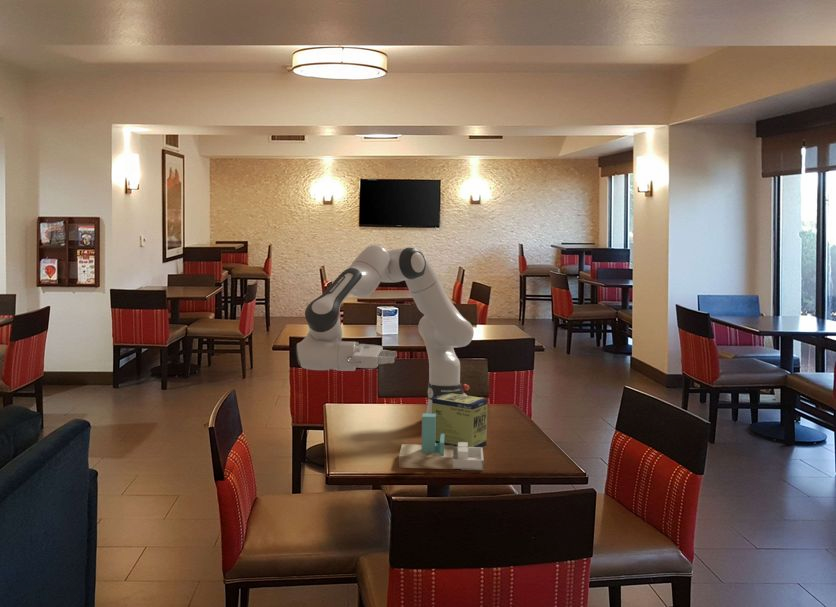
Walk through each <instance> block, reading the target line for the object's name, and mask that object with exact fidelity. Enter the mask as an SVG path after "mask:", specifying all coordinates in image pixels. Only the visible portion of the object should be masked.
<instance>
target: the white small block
mask: <svg viewBox="0 0 836 607" xmlns="http://www.w3.org/2000/svg"><path fill="white" fill-rule="evenodd" d="M458 459H468V448H467V447H458Z"/></svg>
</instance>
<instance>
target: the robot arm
mask: <svg viewBox="0 0 836 607" xmlns="http://www.w3.org/2000/svg"><path fill="white" fill-rule="evenodd" d="M403 281H405V284H406V286H407V288H408V291H409V293H410V295H411V297H412V300H413V302H414V303H415V305H416V307H417V310H419V312H421V313H422V314H423V316H422V317H421V318H420V320H419V322H418V326H417V327H418V329H417V330H418V333H419V334H420V336H421V338H422V339H423V342H424V345H425V349H426V352H427V357H428V365H429V366H428V367H429V369H428V371H429V372H428V375H429V376H428V378H429V379H428V381H429V382H427V398H428V399H427V406H426V407H427V408H426V412H425V413H427V414H432V398H435V397H438V396H441V395H444V394H447V393H453V394H459V395H466V396H468V394H466V393H465V392H464V390H465V391H469V389H470V385H468V384H466V383H461V382H460V381H461V362H460V358H458V356H457V354H456V352H455V349H454V348H463V347H467V346H468V345H470V343H471V342H472V340H473V339H474V334H475V333H474V327H473V325H472V324H471V322H470V321H469V320H467V319H466V318H465V317H464V316H463V315H462V314H461V313H460V311H459V310H458V309H457V308H456V306H455V304H453V302H452V301H451V300H450V298H449V296H448V295H447V293H446V292H445V289H444V287H443V285H442V283H441V281H440V279H439V277H438V275H437V273H436V270H435V269H434V267H433V265H432V264H431V263H430V261H429V260H428V258H427V257H426V256H425V255H424V254H423V252H422V251H421V250H419V249H418V248H415V247H405V248H404V247H403V248H393V249H390V250H387V249H385V248H384V247H383V246H381V245H378V244H372V245H368V246H367V247H366V248H364V250H362V251H361V252H360V254H358V255H357V257H356V258H355V259H354V260H353V262H351V264H350V266H349V267H348V268H346V269H344V270H343V271H342V272H341V273H340V274H339V275H338V276H337V277H336V278H335V279H334V281H332V283H331V284H330V285H329V286H328V287H327V289H325V290H324V292H323V293H322V294H320V296H318V297H317V298H315V299H313V300H312V301H311V302H310V303H309V304H307V306H306V308H305V311H304V317H305V320H306V323H307V326H308V330H309V331H308V333H307V334H306V336H305V337H304V338H303V339H302V340H301V341H300V342H297V343H296V346H295V355H296V361H297V363H298V365H299V366H300V368H302V369H306V370H312V371H328V370H336V371H337V372H338V371H340V372H341V371H342V372H343V371H344V372H348V371H349V372H355V371H356V368H357V369H359V368H360V369H377V368H378V366H379V365H384V364H385V365H386V364H394V363H395V358H397V357H398V355H397V354H398V353H397V351H396V350H387V349H383V348H384V347H383V346H382V345H377V344H368V343H367V344H366V343H359V342H358V341H347V340H345V341H344V340H343V332H342V331H343V330H342V324H341V320H340V309H341V305H342V304H343V303H344V302H345V300H346V299H347V298H348V297H349V295H352V296H354V297H357V298H366V297H369V296H371V295H372V294H373V293H374V292H375V291H376V290H377V288H378V287H379V285H380V284H386V283H400V282H403Z"/></svg>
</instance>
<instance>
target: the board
mask: <svg viewBox="0 0 836 607" xmlns="http://www.w3.org/2000/svg"><path fill="white" fill-rule="evenodd" d="M398 468H400V469H401V468H403V469H405V468H406V469H432V470H433V469H438V470H453V445H444V456H440V452H435V453H425V452H422V444H417V443H416V444H415V443H414V444H413V443H412V444H411V443H410V444H409V443H402V444H401V447H400V451H399V454H398Z"/></svg>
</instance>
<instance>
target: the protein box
mask: <svg viewBox="0 0 836 607" xmlns="http://www.w3.org/2000/svg"><path fill="white" fill-rule="evenodd" d="M466 395H467V394H466ZM466 395H459V394H453V393H447V394H444V395H441V396H438V397H435V398H432V414H436V436H435V443H440V435H441V434H445V437H444V445H453V447H458V442H468V447H482V448H483V447H484V446H487V437H488V435H487V432H488V431H487V430H488V397H487V398H486V397H478V396H472V395H467V396H466Z"/></svg>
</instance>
